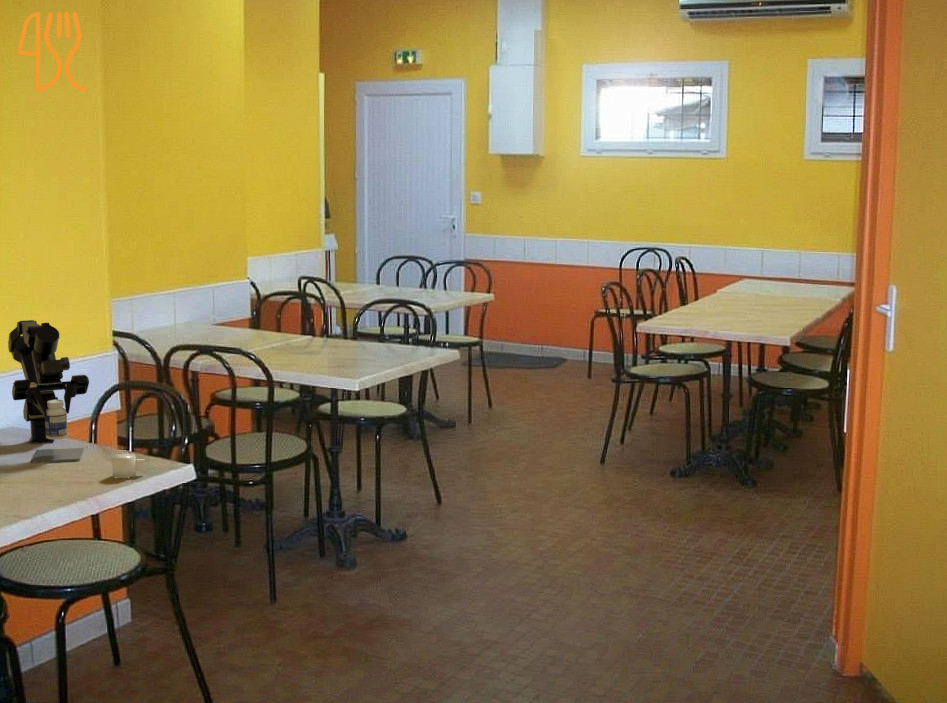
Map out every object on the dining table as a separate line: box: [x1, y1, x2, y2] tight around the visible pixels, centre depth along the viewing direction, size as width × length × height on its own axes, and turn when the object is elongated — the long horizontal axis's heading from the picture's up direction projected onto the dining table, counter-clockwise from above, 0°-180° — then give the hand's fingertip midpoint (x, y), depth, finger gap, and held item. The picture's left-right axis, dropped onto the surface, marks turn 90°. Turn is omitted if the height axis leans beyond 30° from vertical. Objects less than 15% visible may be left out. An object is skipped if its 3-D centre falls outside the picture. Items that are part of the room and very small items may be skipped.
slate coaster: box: [30, 447, 84, 464], centre depth 309 cm, size 12×12×1 cm
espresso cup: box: [111, 453, 146, 479], centre depth 291 cm, size 6×8×5 cm
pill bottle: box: [45, 399, 68, 440], centre depth 308 cm, size 5×5×10 cm
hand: (56, 413), depth 306 cm, fingers closed on pill bottle, 5 cm apart
